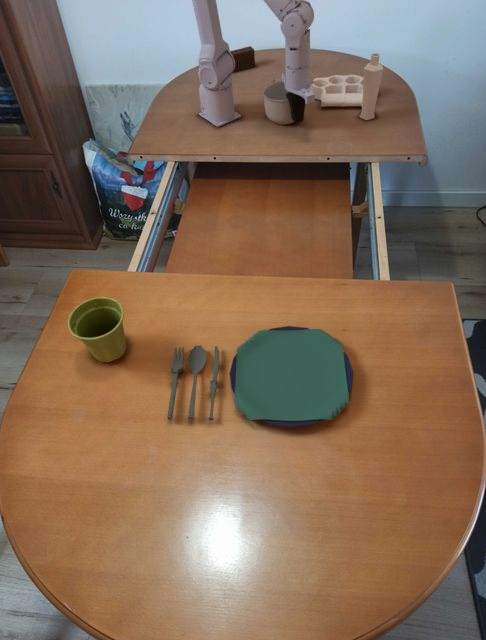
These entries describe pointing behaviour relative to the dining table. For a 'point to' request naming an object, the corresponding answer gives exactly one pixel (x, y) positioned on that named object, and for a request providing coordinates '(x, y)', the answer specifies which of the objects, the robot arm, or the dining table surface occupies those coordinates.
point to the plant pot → (99, 327)
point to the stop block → (243, 58)
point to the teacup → (277, 102)
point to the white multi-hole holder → (339, 90)
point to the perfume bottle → (371, 86)
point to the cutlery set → (279, 376)
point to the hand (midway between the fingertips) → (297, 120)
